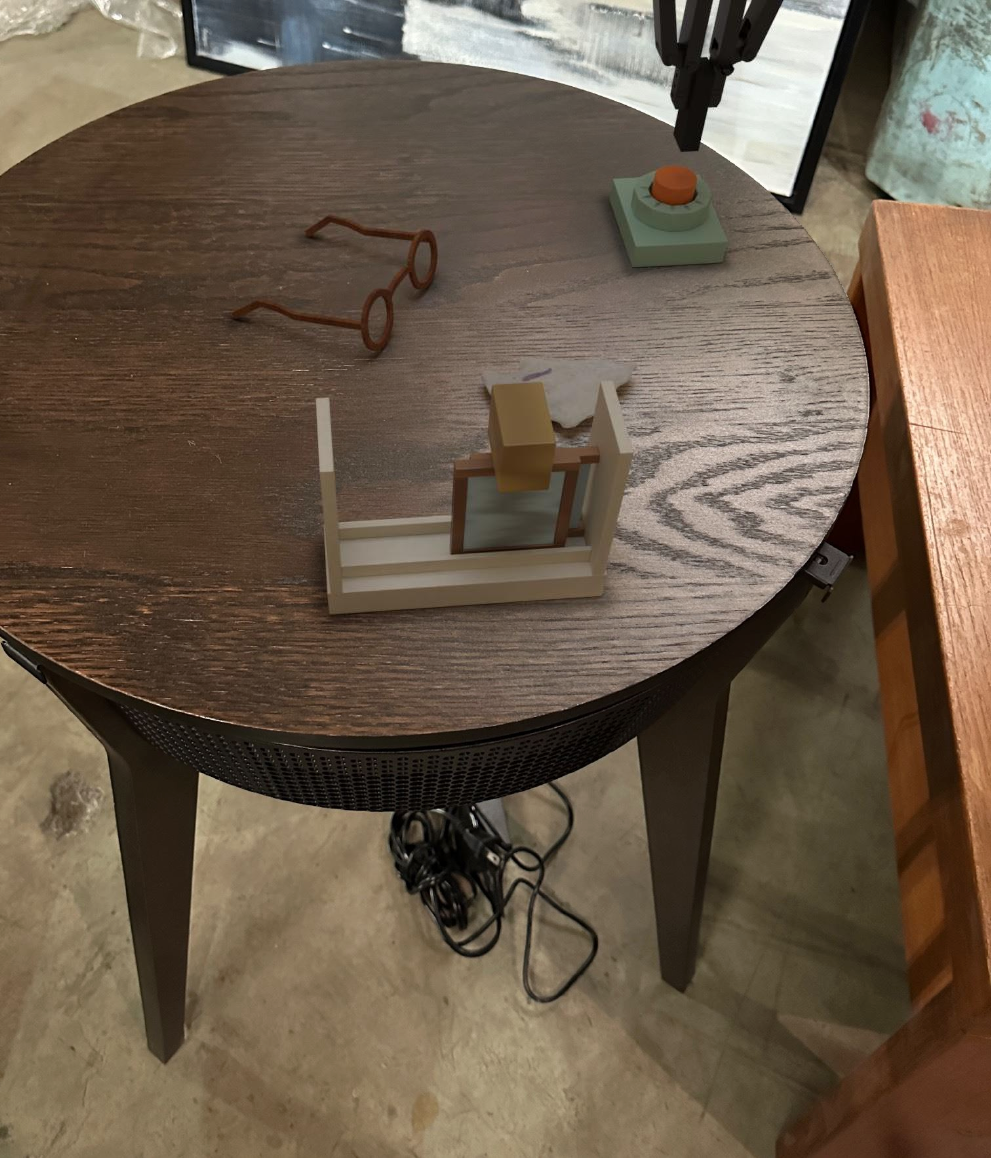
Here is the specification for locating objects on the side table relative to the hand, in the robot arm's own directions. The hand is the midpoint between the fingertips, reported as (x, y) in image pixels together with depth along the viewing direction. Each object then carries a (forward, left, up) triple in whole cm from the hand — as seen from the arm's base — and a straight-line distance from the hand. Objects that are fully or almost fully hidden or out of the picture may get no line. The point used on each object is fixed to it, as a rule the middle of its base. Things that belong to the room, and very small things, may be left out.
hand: (685, 142), depth 91 cm
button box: (0, 0, -9) cm, 9 cm away
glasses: (+30, +6, -9) cm, 32 cm away
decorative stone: (+13, +20, -9) cm, 25 cm away
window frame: (+23, +36, -9) cm, 44 cm away
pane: (+20, +37, -6) cm, 42 cm away
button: (0, 0, -5) cm, 5 cm away
